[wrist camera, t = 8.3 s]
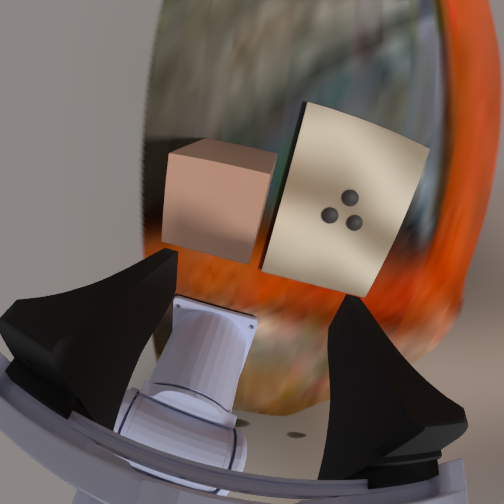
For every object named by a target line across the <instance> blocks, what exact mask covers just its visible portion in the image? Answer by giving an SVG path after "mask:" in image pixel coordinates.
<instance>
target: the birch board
mask: <svg viewBox="0 0 504 504" xmlns="http://www.w3.org/2000/svg"><path fill="white" fill-rule="evenodd" d="M429 150H430V149H429V148H427V147H425V146H423V145H421V144H419V143H416V142H414V141H412V140H410V139H408V138H406V137H404V136H401V135H399V134H397V133H395V132H392V131H390V130H387V129H385V128H383V127H380V126H378V125H375V124H373V123H370V122H367V121H365V120H362V119H359V118H357V117H354V116H351V115H348V114H345V113H342V112H339V111H336V110H333V109H330V108H327V107H324V106H320V105H317V104H313V103H310V102H307V106H306V110H305V113H304V117H303V121H302V125H301V129H300V133H299V136H298V140H297V144H296V148H295V151H294V155H293V159H292V163H291V166H290V170H289V174H288V177H287V181H286V185H285V188H284V192H283V196H282V199H281V203H280V207H279V210H278V214H277V217H276V221H275V225H274V228H273V232H272V235H271V239H270V242H269V246H268V250H267V253H266V257H265V260H264V264H263V267H262V272H266V273H270V274H274V275H277V276H281V277H285V278H289V279H293V280H297V281H301V282H305V283H309V284H313V285H317V286H321V287H325V288H329V289H333V290H337V291H341V292H345V293H349V294H353V295H357V296H361V297H366V295H367V293H368V291H369V289H370V287H371V286H372V284H373V282H374V280H375V278H376V276H377V274H378V272H379V270H380V268H381V266H382V264H383V262H384V260H385V258H386V256H387V254H388V252H389V250H390V248H391V246H392V244H393V242H394V239H395V237H396V235H397V233H398V231H399V228H400V226H401V224H402V222H403V219H404V217H405V215H406V212H407V210H408V207H409V205H410V203H411V200H412V198H413V195H414V192H415V190H416V187H417V185H418V182H419V179H420V177H421V174H422V171H423V168H424V165H425V162H426V159H427V156H428V153H429Z"/></svg>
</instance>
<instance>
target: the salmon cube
mask: <svg viewBox="0 0 504 504" xmlns="http://www.w3.org/2000/svg"><path fill="white" fill-rule="evenodd" d="M277 156H278V154H277V153H273V152H269V151H265V150H261V149H257V148H252V147H248V146H243V145H239V144H234V143H229V142H224V141H219V140H213V139H208V138H205V139H202V140H200V141H197V142H195V143H192V144H190V145H187V146H185V147H182V148H180V149H177V150H175V151H173V152H170V153H169V157H168V166H167V175H166V185H165V196H164V209H163V224H162V242H166V243H170V244H173V245H177V246H181V247H184V248H188V249H192V250H195V251H199V252H203V253H207V254H210V255H214V256H218V257H222V258H225V259H229V260H233V261H237V262H241V263H244V264H249V261H250V257H251V254H252V251H253V247H254V244H255V240H256V237H257V234H258V230H259V227H260V223H261V220H262V216H263V212H264V208H265V204H266V200H267V196H268V192H269V188H270V184H271V180H272V176H273V172H274V168H275V164H276V160H277Z"/></svg>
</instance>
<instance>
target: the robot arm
mask: <svg viewBox="0 0 504 504" xmlns="http://www.w3.org/2000/svg"><path fill="white" fill-rule="evenodd" d="M177 263H178V251H174V250H171V249H167V248H164V249H162V250H160V251H158V252H156V253H154V254H153V255H151V256H149V257H147V258H145V259H144V260H142V261H140V262H138V263H137V264H134V265H133V266H131V267H129V268H127V269H125V270H123V271H121V272H118V273H116V274H114V275H112V276H110V277H108V278H106V279H103V280H101V281H98V282H96V283H93V284H90V285H88V286H85V287H81V288H78V289H75V290H72V291H68V292H64V293H60V294H56V295H50V296H45V297H38V298H30V299H20V300H16V301H15V302H14V303H13V305H12V306H11V307H10V308H9V309H8V310H7V311H6V312H5V313H4V314H3V315H2V316H1V317H0V334H1V336H2V338H3V340H4V341H5V343H6V345H7V347H8V348H9V350H10V352H11V353H12V355H13V356H14V359H13V361H12V362H11V363H10V361H8V359H7V358H6V357H5V356H4V355H3V354H1V353H0V430H1V431H2V432H3V433H4V434H5V435H6V436H7V437H9V438H10V439H11V440H12V441H13V442H14V443H15V444H16V445H17V446H19V447H20V448H21V449H22V450H23V451H25V452H26V453H27V454H28V455H30V456H31V457H32V458H33V459H35V460H36V461H37V462H38V463H40V464H41V465H43V466H44V467H45V468H47V469H48V470H50V471H51V472H52V473H54V474H55V475H57V476H58V477H60V478H61V479H63V480H64V481H66V482H67V483H69V484H70V485H72V486H74V487H75V488H77V489H78V490H77V492H76V495H75V497H74V500H73V502H72V504H270V503H262V502H254V501H249V500H243V499H237V498H230V497H226V496H227V494H228V493H229V491H233V492H239V493H245V494H251V495H259V496H267V497H277V498H290V499H312V500H301V501H300V502H299V503H296V504H468V496H467V487H466V479H465V472H464V465H463V459H462V458H460V459H456V460H452V461H448V462H445V463H442V464H439V465H438V461H437V459H439V458H441V456H442V454H441V449H443V448H444V447H446V446H447V445H449V444H450V443H452V442H453V441H454V440H456V439H458V438H459V437H460V436H461V435H462V434H463V433H464V432H465V431H466V430H467V428H468V423H467V419H466V415H465V411H464V408H463V407H461V406H460V405H458V404H456V403H455V402H453V401H452V400H450V399H449V398H447V397H446V396H445V395H443V394H442V393H441V392H439V391H438V390H437V389H436V388H435V387H433V386H432V385H431V384H430V383H429V382H427V381H426V380H425V379H424V378H423V377H422V376H421V375H420V374H419V373H418V372H417V371H416V370H415V369H414V368H413V367H412V366H411V365H410V364H409V362H408V361H407V360H406V359H405V358H404V357H403V356H402V355H401V353H400V352H399V351H398V350H397V349H396V347H395V346H394V345H393V343H392V342H391V341H390V340H389V338H388V337H387V335H386V334H385V333H384V331H383V330H382V329H381V327H380V326H379V324H378V323H377V321H376V320H375V319H374V317H373V316H372V314H371V313H370V311H369V310H368V309H367V307H366V306H365V304H364V303H363V302H362V300H361V299H360V298H359V297H356V296H352V295H347V294H346V296H345V298H344V300H343V302H342V303H341V305H340V307H339V309H338V311H337V313H336V315H335V317H334V319H333V321H332V322H331V324H330V326H329V329H328V347H327V349H328V364H329V378H330V412H329V422H328V430H327V438H326V443H325V449H324V455H323V459H322V463H321V468H320V472H319V476H318V480H305V479H290V478H280V477H271V476H263V475H257V474H250V473H244V472H242V471H243V469H244V465H245V461H246V456H247V442H246V439H245V437H244V434H243V432H242V430H241V429H239V428H236V427H235V422H236V418H237V417H236V416H235V415H232V414H231V411H232V407H233V402H234V398H235V393H236V389H237V385H238V380H239V376H240V374H241V372H242V369H243V366H244V363H245V360H246V357H247V354H248V352H249V349H250V346H251V343H252V340H253V337H254V334H255V331H256V328H257V325H258V319H257V318H256V317H253V316H249V315H245V314H241V313H237V312H234V311H230V310H226V309H223V308H219V307H215V306H212V305H208V304H205V303H201V302H198V301H195V300H191V299H188V298H184V297H181V296H175V298H174V300H173V326H172V333H171V335H170V337H169V339H168V341H167V344H166V346H165V348H164V350H163V352H162V354H161V356H160V358H159V360H158V362H157V364H156V366H155V369H154V371H153V373H152V375H151V377H150V379H149V381H145V382H144V384H143V386H142V388H141V391H139V390H138V389H136V388H134V387H132V388H130V389H128V390H126V389H127V386H128V384H129V381H130V378H131V376H132V373H133V371H134V368H135V366H136V364H137V362H138V359H139V357H140V355H141V353H142V351H143V349H144V347H145V345H146V343H147V341H148V340H149V338H150V337H151V335H152V333H153V332H154V330H155V328H156V327H157V325H158V324H159V322H160V320H161V319H162V317H163V315H164V314H165V312H166V310H167V309H168V307H169V304H170V302H171V300H172V298H173V295H174V293H175V291H176V281H177ZM178 304H179V305H180V306H179V305H178ZM250 325H253V326H250Z"/></svg>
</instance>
